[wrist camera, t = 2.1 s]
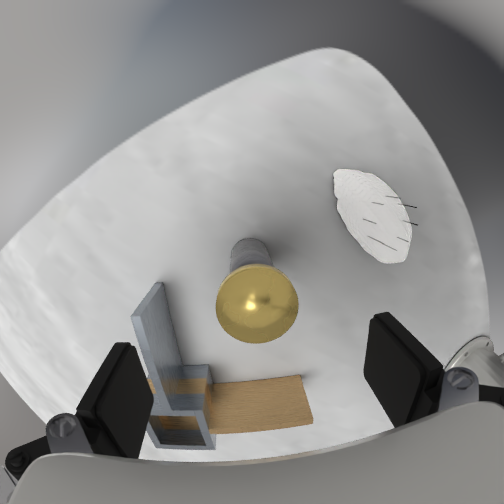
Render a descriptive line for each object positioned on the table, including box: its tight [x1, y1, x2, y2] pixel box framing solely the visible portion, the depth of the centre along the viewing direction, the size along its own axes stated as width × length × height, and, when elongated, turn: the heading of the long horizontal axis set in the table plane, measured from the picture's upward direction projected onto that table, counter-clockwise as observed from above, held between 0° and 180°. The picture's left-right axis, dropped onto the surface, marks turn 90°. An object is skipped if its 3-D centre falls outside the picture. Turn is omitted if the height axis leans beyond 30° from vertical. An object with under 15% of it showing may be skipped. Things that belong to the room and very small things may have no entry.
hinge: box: [131, 283, 313, 450], centre depth 25 cm, size 17×17×7 cm
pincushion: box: [333, 169, 417, 264], centre depth 23 cm, size 12×6×6 cm, turn 45°
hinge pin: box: [216, 238, 298, 343], centre depth 21 cm, size 5×5×11 cm
